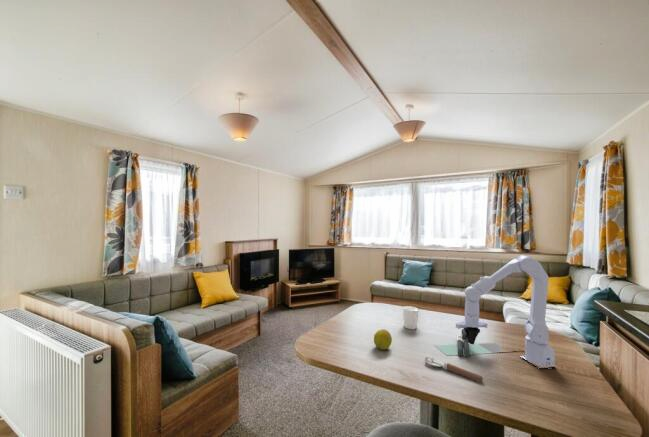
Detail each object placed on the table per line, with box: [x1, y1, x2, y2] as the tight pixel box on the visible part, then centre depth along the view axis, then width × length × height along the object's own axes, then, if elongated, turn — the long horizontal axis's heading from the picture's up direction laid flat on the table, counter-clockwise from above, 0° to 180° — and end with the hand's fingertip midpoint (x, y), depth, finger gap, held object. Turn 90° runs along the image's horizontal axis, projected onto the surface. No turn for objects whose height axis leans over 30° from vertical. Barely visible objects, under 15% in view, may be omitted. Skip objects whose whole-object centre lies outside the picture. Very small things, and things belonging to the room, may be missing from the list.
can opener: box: [456, 328, 470, 358], centre depth 124 cm, size 19×5×6 cm, turn 155°
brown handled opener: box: [424, 354, 484, 383], centre depth 104 cm, size 20×6×3 cm, turn 49°
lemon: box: [373, 328, 393, 351], centre depth 122 cm, size 11×8×8 cm
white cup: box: [402, 305, 419, 330], centre depth 148 cm, size 8×8×10 cm
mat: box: [435, 342, 500, 357], centre depth 124 cm, size 9×39×1 cm, turn 99°
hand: (471, 343), depth 123 cm, fingers closed
